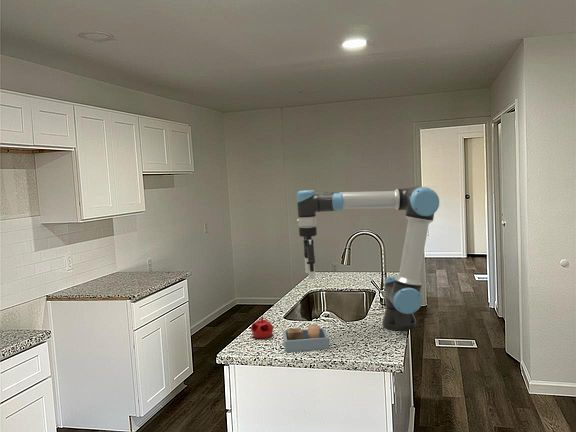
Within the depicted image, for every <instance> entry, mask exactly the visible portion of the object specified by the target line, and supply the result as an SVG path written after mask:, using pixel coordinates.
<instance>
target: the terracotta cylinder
mask: <svg viewBox="0 0 576 432" xmlns="http://www.w3.org/2000/svg"><path fill="white" fill-rule="evenodd" d="M319 328H320V325H318V324H310V325H307V329H308V339H313V338H320V331H319Z"/></svg>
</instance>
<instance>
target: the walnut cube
mask: <svg viewBox="0 0 576 432" xmlns="http://www.w3.org/2000/svg"><path fill="white" fill-rule="evenodd" d="M302 330H303V329H302V328H301V327H294V328H287V329H286V331H287V340H300V339H303V332H302Z"/></svg>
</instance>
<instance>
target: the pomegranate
mask: <svg viewBox="0 0 576 432" xmlns="http://www.w3.org/2000/svg"><path fill="white" fill-rule="evenodd" d="M264 318H265V317H264V316H261V318H260V319H255V320H254V322H253V323H252V324H251V327H250V330H251V334H252V335H253V336H252V337H254V338H256V339H267V338H270V337H271V336H272V334H273V333H274V332H273V331H274V326H273V324H272V323H271V322H270V321H269V320H268V319H269V318H265V319H264Z"/></svg>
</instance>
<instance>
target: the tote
mask: <svg viewBox="0 0 576 432" xmlns="http://www.w3.org/2000/svg"><path fill="white" fill-rule="evenodd" d="M301 330H302V332H303V339H300V340H287V330H283V331H282V337H283V345H284V346H283V347H284V352H285V353H293V352H295V353H296V352H306V351H307V352H308V351H320V350H329V349H330V342H329V341H330V339H329V336H328V333H327V331H326V329H325V328H324V327H319V331H320V338H313V339H308V328H304V329H301Z"/></svg>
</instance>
